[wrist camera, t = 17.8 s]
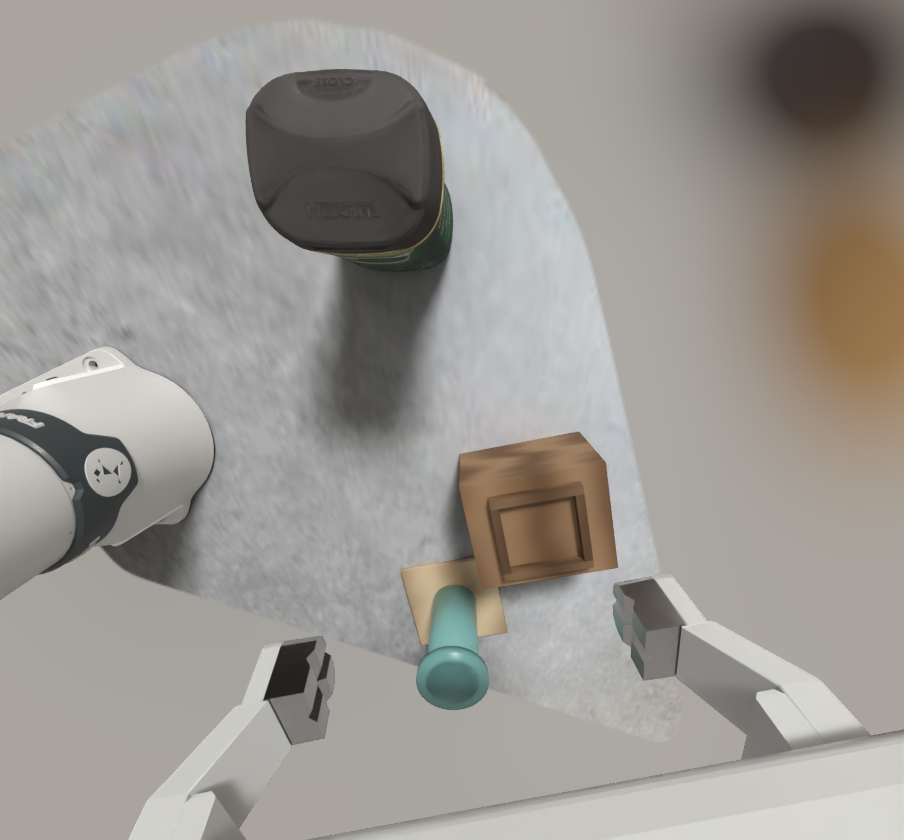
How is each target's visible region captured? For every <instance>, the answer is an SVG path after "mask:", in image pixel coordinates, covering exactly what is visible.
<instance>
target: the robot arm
mask: <svg viewBox="0 0 904 840" xmlns="http://www.w3.org/2000/svg"><path fill="white" fill-rule="evenodd" d="M95 362H96V363H97V365H98V367H96V365H95ZM213 457H214V444H213V438H212V434H211V430H210V427H209V425H208V422H207V420H206V418H205V416H204V415H203V413H202V411H201V410H200V408H199V407H198V405H197V404H196V403H195V402H194V401H193V399H192V398H191V397H190V396H189V395H188V394H187V393H186V392H185V391H183V390H182V389H181V388H180V387H179V386H177V385H176V384H174V383H173V382H171V381H169V380H168V379H166V378H164V377H162V376H160V375H158V374H155V373H152V372H150V371H147V370H144V369H142V368H140V367H138V366H136V365H135V364H134V363H132V362H131V361H130V360H129V359H128V358H126V357H125V356H124V355H123V354H121V353H120V352H119V351H117V350H116V349H114V348H112V347H108V346H105V347H101V348H97V349H94V350H92V351H90V352H88V353H86V354H84V355H82V356H80V357H77V358H75V359H73V360H71V361H69V362H67V363H65V364H63V365H61V366H59V367H57V368H55V369H53V370H51V371H49V372H47V373H45V374H42V375H40V376H38V377H36V378H34V379H32V380H30V381H28V382H26V383H24V384H22V385H20V386H18V387H16V388H14V389H12V390H10V391H7V392H5V393H3V394H1V395H0V600H1V599H2V598H4V597H5V596H7V595H8V594H10V593H11V592H13V591H14V590H16V589H17V588H19V587H20V586H22V585H23V584H25V583H26V582H28V581H29V580H30V579H32V578H34V577H35V576H37V575H39V574H44V573H47V572H50V571H53V570H55V569H57V568H59V567H61V566H62V565H64V564H66V563H69V562H71V561H73V560H74V559H76V558H78V557H79V556H81V555H83V554H84V553H86V552H87V551H88V550H90V548H92V547H93V546H105V545H112V546H118V545H121V544H123V543H125V542H126V541H128V540H129V539H131V538H133V537H134V536H136V535H138V534H139V533H141V532H142V531H144V530H146V529H147V528H149V527H150V526H152V525H154V524H176V523H178V522H180V521H181V520H183V519H184V518H185V517H186V516H187V514H188V511H189V508H190V503H191V498H192V497H193V495H194V494H195V492H196V491H197V490H198V489H199V488H200V487H201V486H202V484H203V483H204V482H205V480H206V479H207V477H208V475H209V473H210V470H211V467H212V464H213ZM613 594H614V596H615V598H616V600H617V601H616V602H615V603H614V605H613V616H614V620H615V625H616V627H617V630H618V632H619V635H620V637H621V639H622V641H623V642H624V643H626V644H627V645H629V646H630V647H631V658H632V660H633V662H634V664H635V666H636V668H637V669H638V671H639V673H640V675H641V677H642V679H643V681H645V680H652V679H658V678H665V677H672V676H676V678H677V679H678V680H680V681H681V682H682V683H683V684H685V685H686V686H687V687H688V688H690V689H691V690H692V691H693V692H694V693H696V694H697V695H698V696H700V697H701V698H702V699H703V700H704V701H706V702H707V703H708V704H709V705H710V706H712V707H713V708H714V709H715V710H717V711H718V712H719V713H720V714H722V715H723V716H724V717H725V718H727V719H728V720H729V721H730V722H732V723H733V724H734V725H735V726H737V727H738V728H739V729H740V730H741V731H743V732H744V733H745V734H746V735H747V737H746V741H745V746H744V750H743V754H742V759H741V760H736V761H731V762H726V763H720V764H715V765H709V766H704V767H699V768H693V769H687V770H682V771H677V772H671V773H666V774H660V775H655V776H650V777H644V778H639V779H634V780H628V781H623V782H617V783H611V784H606V785H600V786H595V787H590V788H584V789H579V790H574V791H568V792H562V793H557V794H552V795H547V796H540V797H535V798H530V799H525V800H519V801H513V802H508V803H503V804H497V805H492V806H486V807H481V808H476V809H470V810H465V811H459V812H454V813H448V814H443V815H438V816H433V817H427V818H421V819H416V820H411V821H406V822H400V823H394V824H389V825H384V826H378V827H373V828H367V829H362V830H356V831H352V832H345V833H340V834H335V835H329V836H324V837H318V838H313V839H307V840H904V730H899V731H893V732H888V733H883V734H877V735H872V736H871V735H870V734H869V733H868V732H867V731H866V729H865V728H864V727H863V726H862V725H861V724H860V723H859V722H858V721H857V720H856V719H855V717H853V716H852V714H851V713H850V712H849V711H848V710H847V709H846V708H845V707H844V706H843V705H842V703H841V702H840V701H839V700H838V699H837V698H836V697H835V696H834V695H833V694H832V692H831V691H830V690H829V689H828V688H827V687H826V686H825V685H824V684H823V683H822V682H821V681H820V679H818V678H816V677H814V676H812V675H811V674H809V673H807V672H805V671H803V670H802V669H800V668H798V667H796V666H794V665H792V664H791V663H789V662H787V661H785V660H783V659H782V658H780V657H778V656H776V655H774V654H773V653H771V652H769V651H767V650H765V649H763V648H761V647H760V646H758V645H756V644H754V643H752V642H751V641H749V640H747V639H745V638H743V637H742V636H740V635H738V634H736V633H734V632H733V631H731V630H729V629H727V628H725V627H723V626H722V625H720V624H718V623H716V622H714V621H709V622H708V621H707V620H706V619H705V618H704V616H703V615H702V614H701V613H700V611H699V610H698V608H697V607H696V606H695V605H694V603H693V602H692V601H691V599H690V598H689V597H688V596H687V594H686V593H685V592H684V590H683V589H682V588H681V587H680V585H679V584H678V583H677V581H676V580H675V579H674V578H673V576H671V575H670V574H663V575H658V576H652V577H645V578H640V579H635V580H629V581H624V582H619V583H615V584H614V586H613ZM325 648H326V642H325V640H324V638H323V636H316V637H309V638H303V639H296V640H290V641H284V642H277V643H272V644H266V645H265V646H264V648H263V649H262V650H261V653H260V655H259V658H258V661H257V663H256V666H255V669H254V671H253V674H252V677H251V679H250V682H249V685H248V688H247V690H246V693H245V696H244V698H243V701H242V704H241V705H239V706H235V707H234V708H233V709H232V710H231V711H230V712H229V714H228V715H227V716H226V717H225V718H224V719H223V720H222V721H221V722H220V723H219V724H218V725H217V726H216V727H215V729H214V730H213V731H212V732H211V733H210V734H209V735H208V736H207V737H206V738H205V739H204V740H203V741H202V742H201V743H200V745H199V746H198V747H197V748H196V749H195V750H194V751H193V752H192V753H191V754H190V755H189V756H188V757H187V759H186V760H185V761H184V762H183V763H182V764H181V765H180V766H179V767H178V768H177V770H175V771H174V772H173V773H172V775H171V776H170V777H169V778H168V779H167V780H166V781H165V782H164V783H163V784H162V785H161V786H160V787H159V788H158V790H157V791H156V792H155V793H154V794H153V795H152V796H151V797H150V798H149V799H148V800H147V802H146V804H145V806H144V808H143V810H142V812H141V814H140V816H139V819H138V821H137V823H136V825H135V827H134V829H133V831H132V833H131V835H130V837H129V840H246V839H245V837H244V836H243V834H242V833H241V832H240V830H239V828H240V826H241V825H242V824H243V822H244V821H245V819H246V817H247V816H248V814H249V813H250V811H251V810H252V808H253V807H254V805H255V803H256V802H257V800H258V799H259V797H260V796H261V794H262V793H263V791H264V790H265V788H266V787H267V785H268V783H269V782H270V780H271V779H272V777H273V776H274V774H275V773H276V771H277V770H278V768H279V766H280V765H281V763H282V762H283V760H284V759H285V757H286V756H287V754H288V752H289V751H290V749H291V748H292V747H291V745H295V744H299V743H304V742H309V741H313V740H318V739H323V738H325V733H326V727H327V722H328V716H329V708H328V706H327V703H326V701H327V700H328V699H329V698H330V696H331V695H332V694H333V689H334V683H335V670H334V665H333V660H332V657H331V655H329V654H327V653H326V652H325Z"/></svg>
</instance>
